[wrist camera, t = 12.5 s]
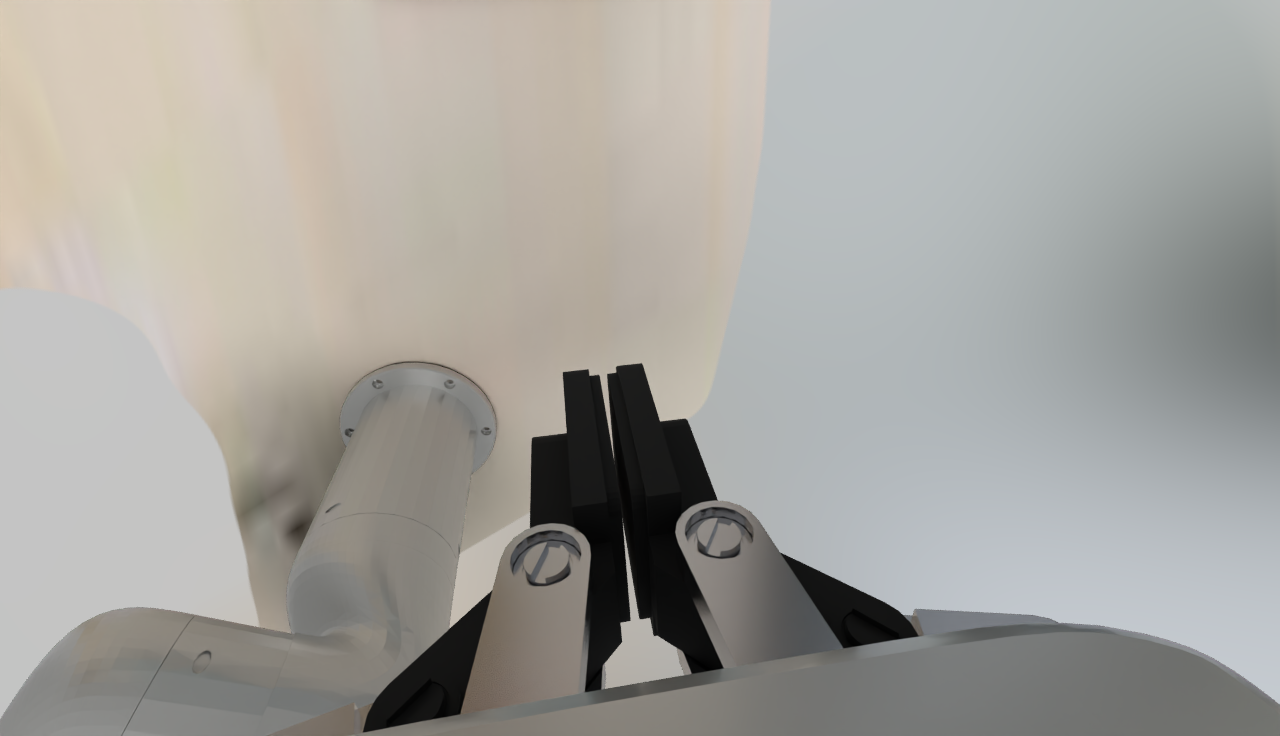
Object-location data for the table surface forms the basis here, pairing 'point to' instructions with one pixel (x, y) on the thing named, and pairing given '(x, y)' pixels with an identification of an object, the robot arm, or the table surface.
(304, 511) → the table surface
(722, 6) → the table surface
